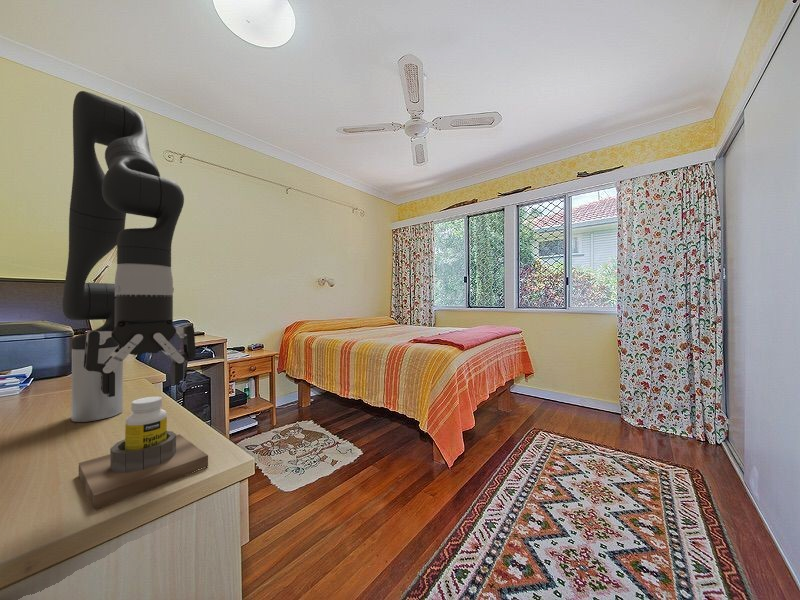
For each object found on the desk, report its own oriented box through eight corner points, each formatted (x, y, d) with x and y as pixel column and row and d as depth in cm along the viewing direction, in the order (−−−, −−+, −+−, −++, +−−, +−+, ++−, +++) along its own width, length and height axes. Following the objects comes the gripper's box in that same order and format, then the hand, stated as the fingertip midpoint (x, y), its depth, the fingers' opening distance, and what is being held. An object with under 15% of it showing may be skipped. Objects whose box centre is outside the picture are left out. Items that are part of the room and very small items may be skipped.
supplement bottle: (142, 468, 49) (143, 405, 49) (116, 464, 50) (116, 403, 50) (174, 452, 54) (174, 395, 54) (149, 449, 55) (149, 394, 55)
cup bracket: (78, 475, 51) (78, 444, 51) (179, 444, 62) (179, 419, 62) (93, 510, 42) (93, 473, 42) (208, 466, 53) (208, 437, 53)
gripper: (186, 294, 60) (185, 378, 60) (81, 292, 49) (80, 395, 49) (201, 293, 55) (201, 384, 55) (89, 291, 44) (88, 405, 44)
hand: (144, 389), depth 52 cm, fingers open, 8 cm apart
